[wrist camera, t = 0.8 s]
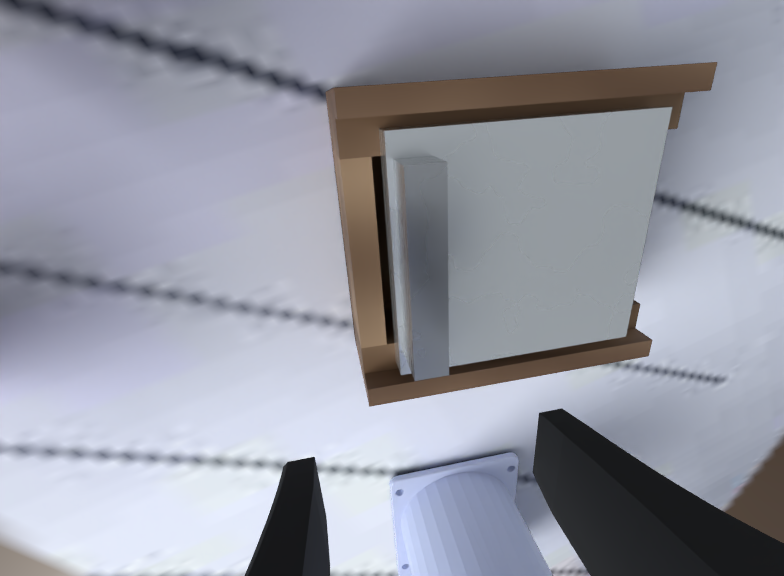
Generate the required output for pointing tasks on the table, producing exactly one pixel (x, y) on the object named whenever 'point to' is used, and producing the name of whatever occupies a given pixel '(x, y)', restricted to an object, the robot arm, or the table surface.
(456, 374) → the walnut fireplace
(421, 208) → the cover plate
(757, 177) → the table surface
